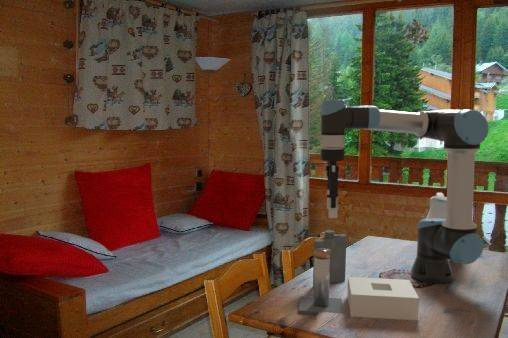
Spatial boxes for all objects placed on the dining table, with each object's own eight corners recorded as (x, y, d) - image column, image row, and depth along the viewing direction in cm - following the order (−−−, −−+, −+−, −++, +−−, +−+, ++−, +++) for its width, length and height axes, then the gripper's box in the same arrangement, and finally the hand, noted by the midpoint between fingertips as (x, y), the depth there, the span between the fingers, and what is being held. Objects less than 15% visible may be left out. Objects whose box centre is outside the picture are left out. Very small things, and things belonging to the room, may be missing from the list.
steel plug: (328, 301, 159) (330, 248, 157) (329, 307, 154) (330, 252, 152) (313, 300, 160) (314, 247, 158) (313, 306, 155) (314, 251, 153)
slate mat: (341, 301, 162) (341, 298, 162) (343, 316, 150) (343, 313, 150) (300, 299, 164) (300, 296, 164) (298, 313, 152) (298, 310, 152)
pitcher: (462, 265, 201) (466, 200, 198) (420, 261, 206) (423, 197, 203) (455, 250, 224) (459, 191, 221) (417, 247, 229) (420, 189, 226)
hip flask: (317, 289, 173) (318, 235, 170) (309, 286, 176) (310, 233, 173) (346, 280, 182) (348, 228, 180) (338, 277, 186) (340, 226, 183)
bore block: (407, 302, 161) (409, 279, 160) (417, 323, 145) (419, 298, 144) (347, 299, 164) (348, 276, 163) (350, 319, 148) (351, 294, 147)
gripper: (320, 145, 167) (319, 205, 169) (321, 151, 142) (321, 221, 145) (342, 145, 166) (341, 205, 168) (347, 151, 141) (346, 222, 144)
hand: (332, 213), depth 156 cm, fingers open, 13 cm apart
